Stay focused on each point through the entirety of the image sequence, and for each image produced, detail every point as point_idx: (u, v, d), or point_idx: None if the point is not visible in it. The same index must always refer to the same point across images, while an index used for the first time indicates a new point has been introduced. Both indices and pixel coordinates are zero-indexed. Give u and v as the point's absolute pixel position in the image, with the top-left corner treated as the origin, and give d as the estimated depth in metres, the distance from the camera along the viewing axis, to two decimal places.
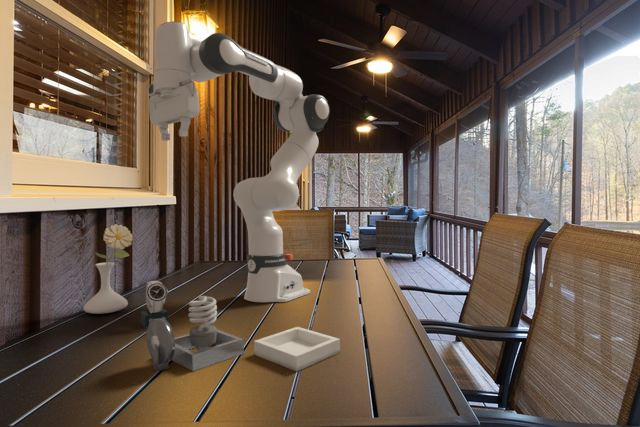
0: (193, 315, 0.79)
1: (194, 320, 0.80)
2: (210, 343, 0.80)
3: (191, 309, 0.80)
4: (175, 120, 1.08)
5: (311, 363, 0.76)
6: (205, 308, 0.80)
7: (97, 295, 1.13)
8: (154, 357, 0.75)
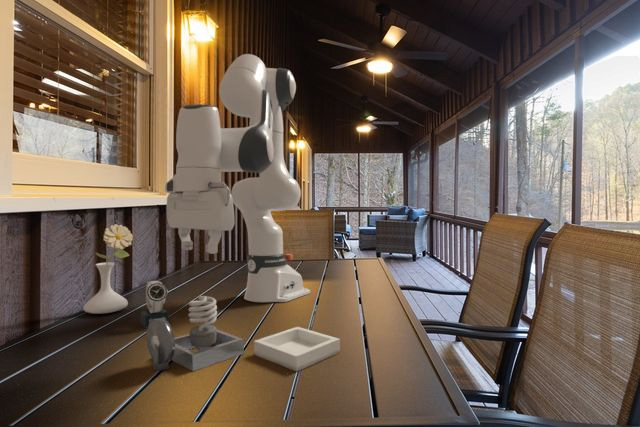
0: (193, 315, 0.79)
1: (194, 320, 0.80)
2: (210, 343, 0.80)
3: (191, 309, 0.80)
4: None
5: (311, 363, 0.76)
6: (205, 308, 0.80)
7: (97, 295, 1.13)
8: (154, 357, 0.75)
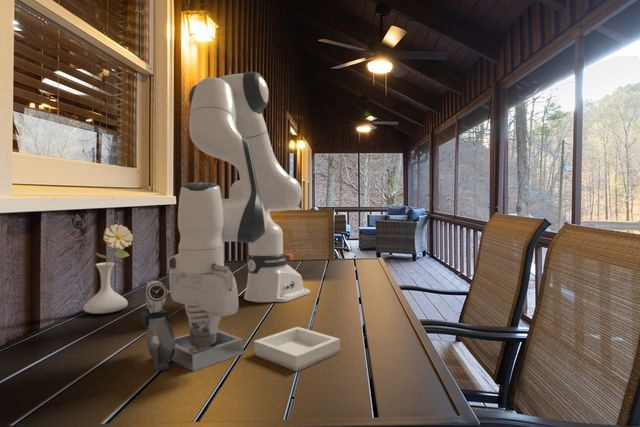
0: (193, 315, 0.79)
1: (194, 320, 0.80)
2: (210, 343, 0.80)
3: (191, 309, 0.80)
4: None
5: (311, 363, 0.76)
6: None
7: (97, 295, 1.13)
8: (154, 357, 0.75)
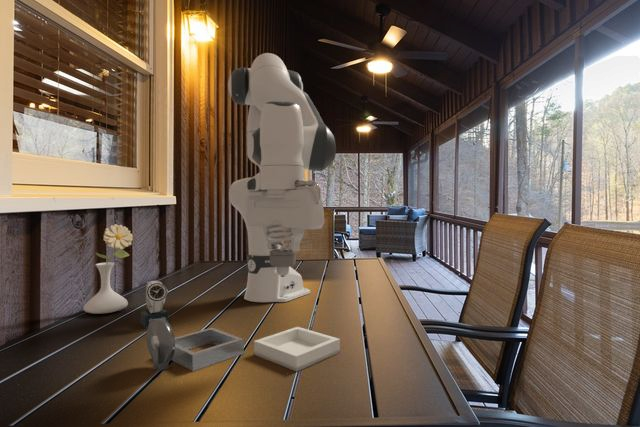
0: (275, 234, 0.79)
1: (276, 239, 0.79)
2: (291, 263, 0.80)
3: (273, 228, 0.79)
4: None
5: (311, 363, 0.76)
6: None
7: (97, 295, 1.13)
8: (154, 357, 0.75)
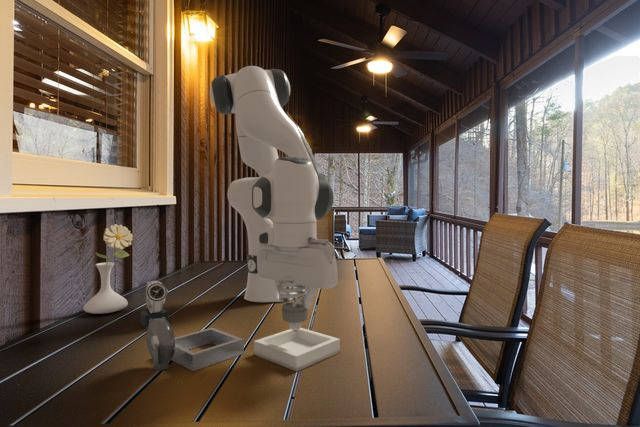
0: (288, 290, 0.79)
1: (289, 295, 0.79)
2: (304, 319, 0.80)
3: (286, 284, 0.80)
4: None
5: (311, 363, 0.76)
6: None
7: (97, 295, 1.13)
8: (154, 357, 0.75)
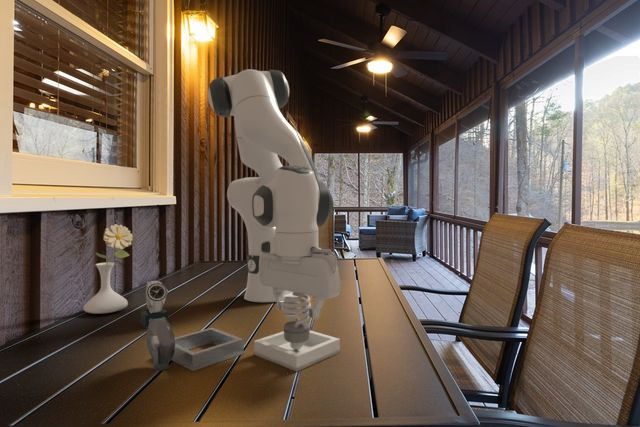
0: (290, 311, 0.79)
1: (291, 316, 0.79)
2: (305, 339, 0.81)
3: (288, 305, 0.80)
4: None
5: (311, 363, 0.76)
6: (302, 304, 0.79)
7: (97, 295, 1.13)
8: (154, 357, 0.75)
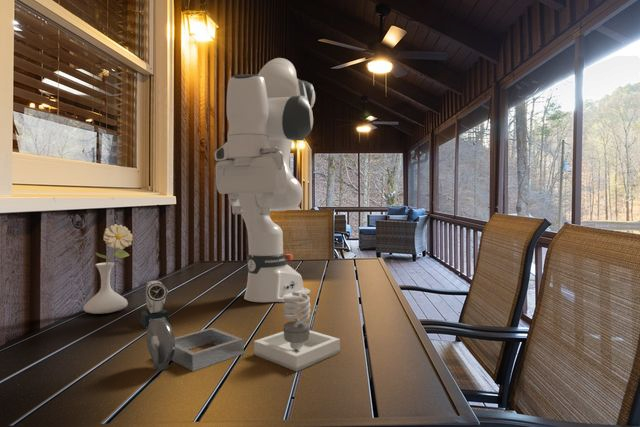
0: (290, 311, 0.79)
1: (291, 316, 0.80)
2: (305, 339, 0.81)
3: (288, 305, 0.80)
4: None
5: (311, 363, 0.76)
6: (302, 304, 0.80)
7: (97, 295, 1.13)
8: (154, 357, 0.75)
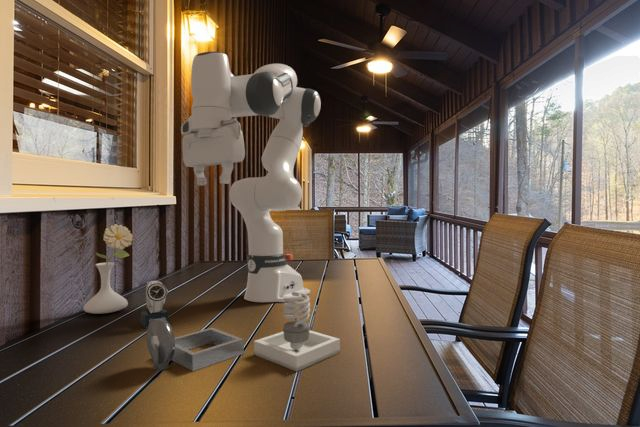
0: (290, 311, 0.79)
1: (291, 316, 0.80)
2: (305, 339, 0.81)
3: (287, 305, 0.80)
4: (213, 163, 0.94)
5: (311, 363, 0.76)
6: (302, 304, 0.80)
7: (97, 295, 1.13)
8: (154, 357, 0.75)
